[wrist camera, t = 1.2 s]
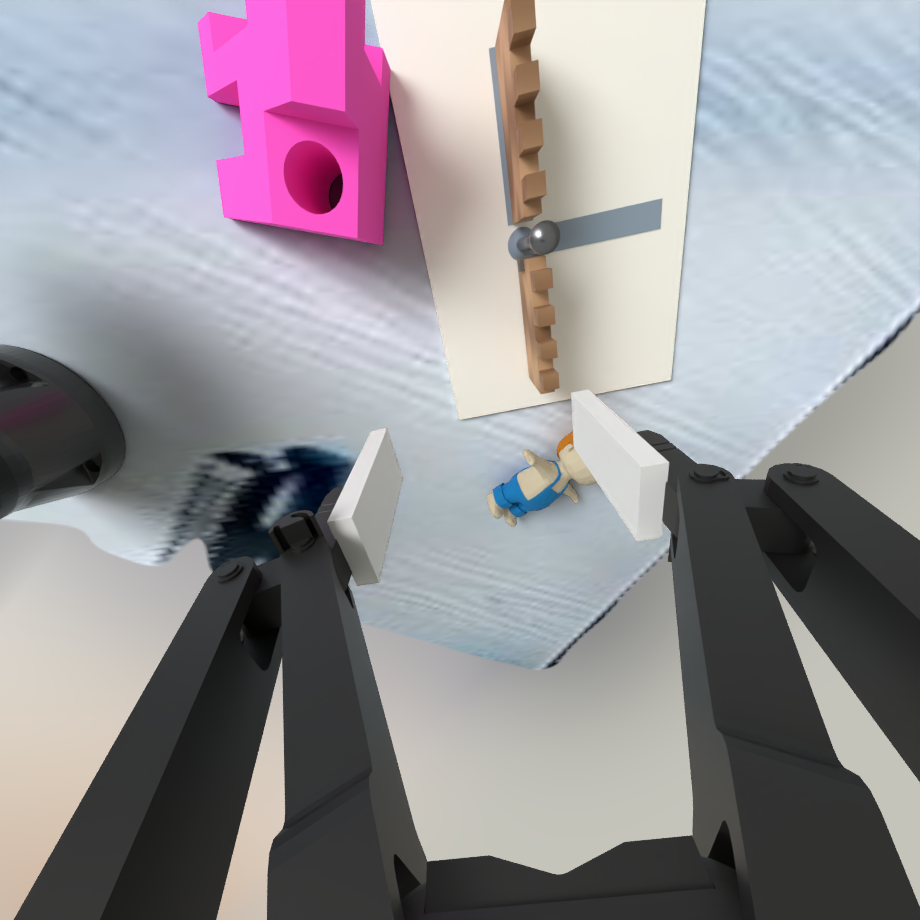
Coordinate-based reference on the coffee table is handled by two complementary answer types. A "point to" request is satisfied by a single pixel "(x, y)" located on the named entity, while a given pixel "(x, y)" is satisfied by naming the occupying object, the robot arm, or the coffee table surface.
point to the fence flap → (538, 321)
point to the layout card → (550, 185)
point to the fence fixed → (520, 108)
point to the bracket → (302, 115)
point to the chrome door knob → (541, 238)
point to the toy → (540, 483)
